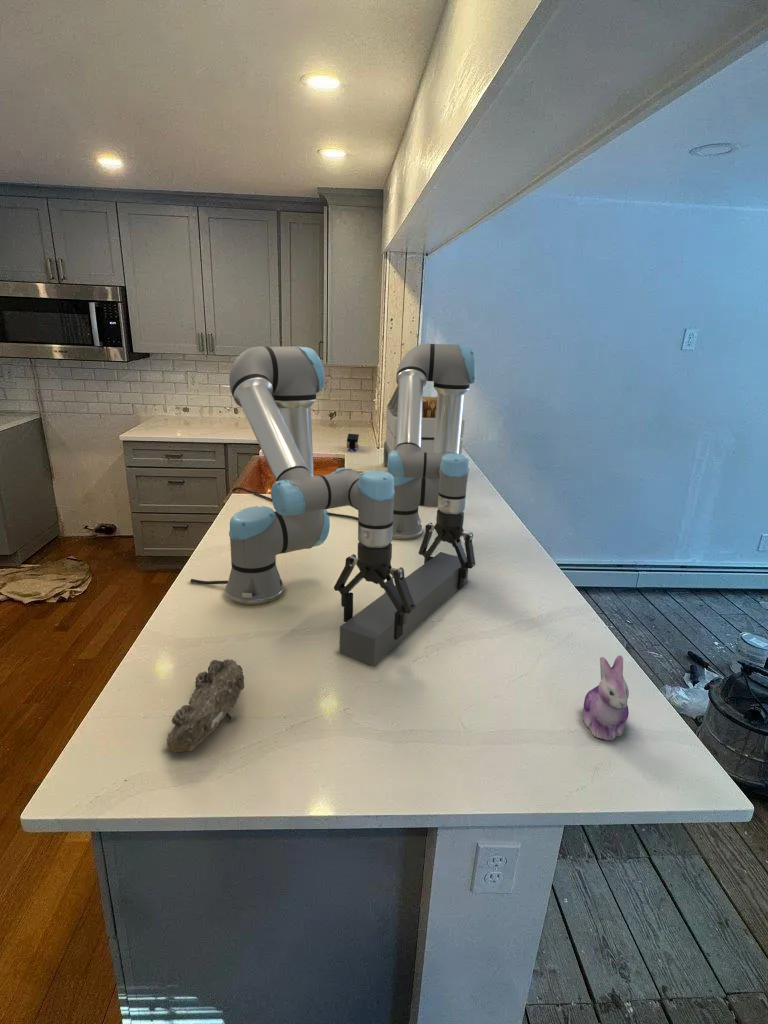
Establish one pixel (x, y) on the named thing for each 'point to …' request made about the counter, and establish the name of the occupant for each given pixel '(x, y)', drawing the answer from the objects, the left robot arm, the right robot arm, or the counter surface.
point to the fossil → (206, 705)
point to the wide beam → (375, 624)
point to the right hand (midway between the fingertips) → (444, 582)
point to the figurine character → (352, 441)
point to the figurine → (607, 702)
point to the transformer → (426, 431)
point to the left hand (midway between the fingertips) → (372, 628)
